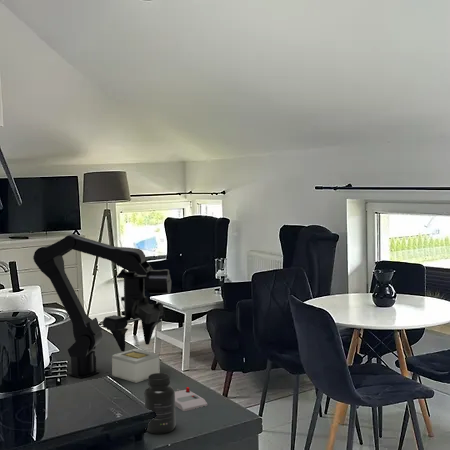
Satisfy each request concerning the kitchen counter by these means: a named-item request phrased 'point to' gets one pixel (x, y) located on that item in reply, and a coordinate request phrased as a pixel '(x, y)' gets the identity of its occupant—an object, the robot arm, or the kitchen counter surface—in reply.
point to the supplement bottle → (160, 403)
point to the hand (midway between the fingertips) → (135, 347)
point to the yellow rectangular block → (135, 355)
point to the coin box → (135, 365)
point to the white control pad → (188, 400)
